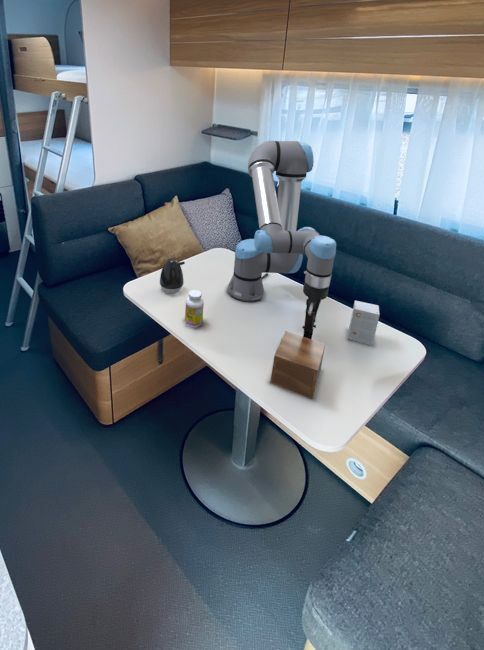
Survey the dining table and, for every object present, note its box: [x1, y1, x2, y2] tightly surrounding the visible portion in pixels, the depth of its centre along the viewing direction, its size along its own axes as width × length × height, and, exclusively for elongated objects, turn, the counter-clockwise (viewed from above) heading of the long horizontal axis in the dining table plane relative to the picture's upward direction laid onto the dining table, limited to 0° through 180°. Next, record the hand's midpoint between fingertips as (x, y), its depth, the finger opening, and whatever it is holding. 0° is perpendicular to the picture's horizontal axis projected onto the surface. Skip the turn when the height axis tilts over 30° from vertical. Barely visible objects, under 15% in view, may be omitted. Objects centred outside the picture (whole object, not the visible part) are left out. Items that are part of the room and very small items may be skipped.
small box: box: [348, 300, 380, 346], centre depth 146 cm, size 8×6×13 cm
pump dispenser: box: [159, 257, 186, 294], centre depth 173 cm, size 10×10×15 cm
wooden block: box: [269, 330, 326, 400], centre depth 127 cm, size 14×13×11 cm
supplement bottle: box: [184, 289, 205, 328], centre depth 152 cm, size 7×7×13 cm
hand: (306, 343), depth 139 cm, fingers closed
